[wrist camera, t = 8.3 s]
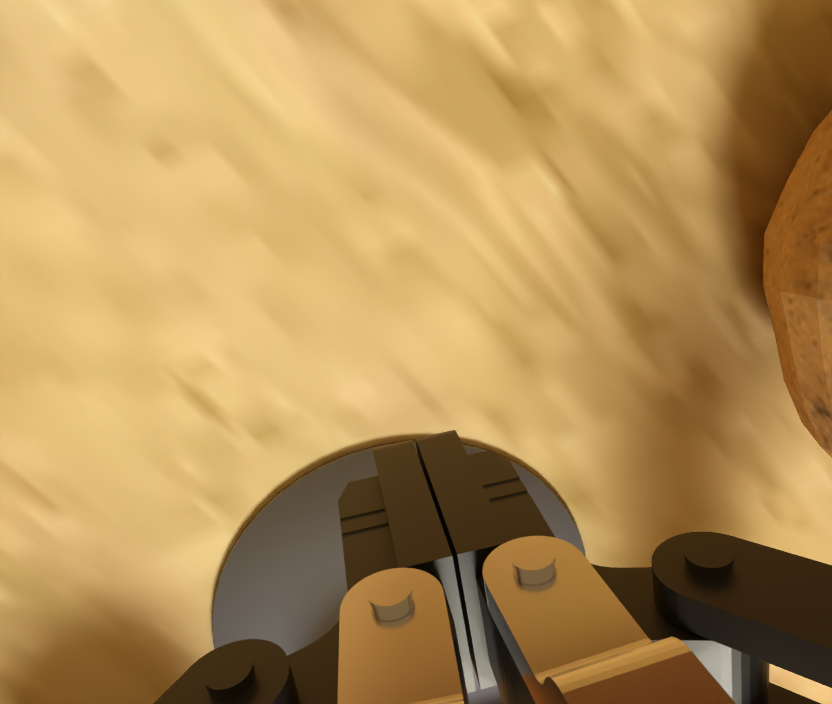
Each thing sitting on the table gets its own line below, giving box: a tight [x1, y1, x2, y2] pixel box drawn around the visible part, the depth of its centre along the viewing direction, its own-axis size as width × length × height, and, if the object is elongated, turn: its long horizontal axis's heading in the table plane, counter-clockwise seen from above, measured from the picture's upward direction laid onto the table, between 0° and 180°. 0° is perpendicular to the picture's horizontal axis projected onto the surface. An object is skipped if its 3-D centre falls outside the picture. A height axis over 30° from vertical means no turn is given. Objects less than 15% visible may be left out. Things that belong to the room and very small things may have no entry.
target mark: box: [212, 441, 586, 704], centre depth 27 cm, size 14×14×1 cm
